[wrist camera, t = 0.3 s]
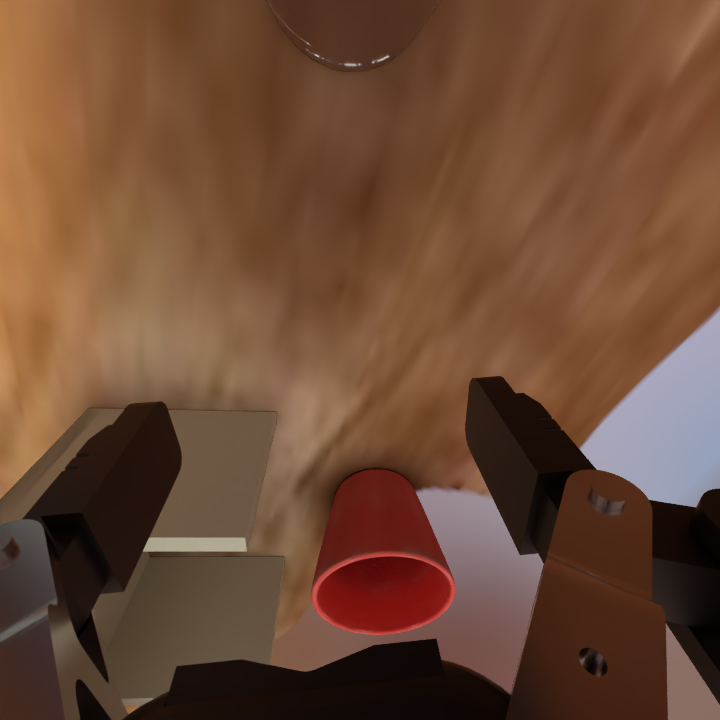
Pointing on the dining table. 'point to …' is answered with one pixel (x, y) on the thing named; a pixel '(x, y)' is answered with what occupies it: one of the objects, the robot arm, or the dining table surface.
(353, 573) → the flower pot
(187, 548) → the cold frame
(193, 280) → the dining table surface
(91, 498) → the robot arm
